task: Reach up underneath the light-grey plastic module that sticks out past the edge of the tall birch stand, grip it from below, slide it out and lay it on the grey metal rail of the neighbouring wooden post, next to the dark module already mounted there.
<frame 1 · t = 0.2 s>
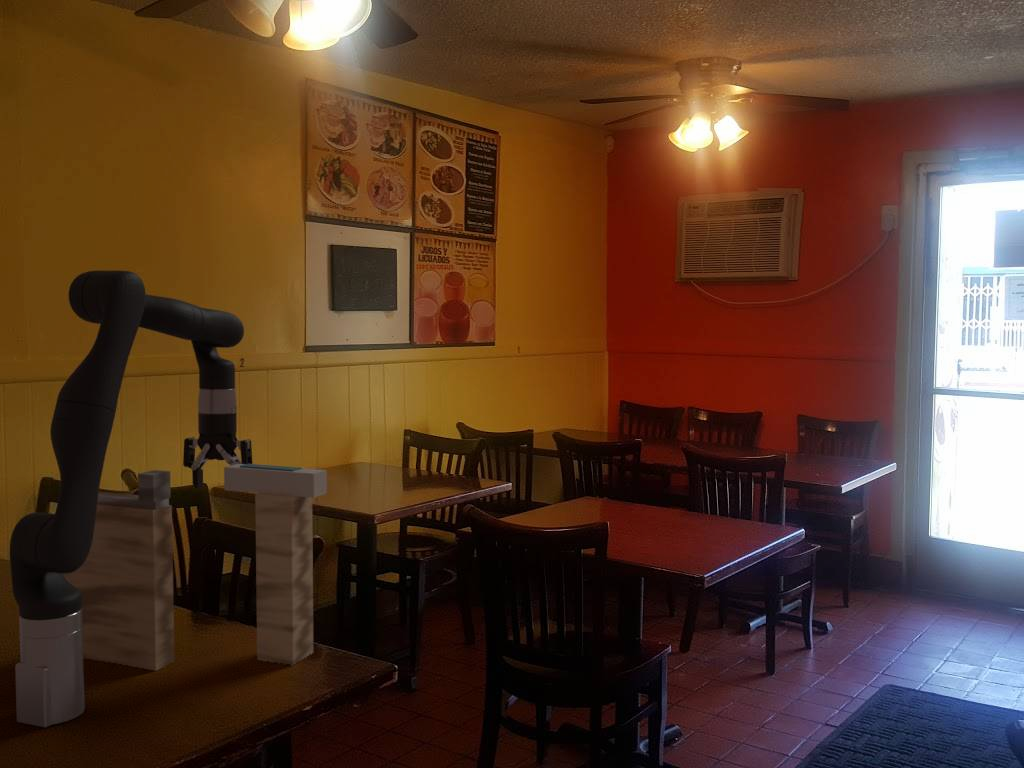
hand: (218, 488, 193), 30 cm above the table, tool pointing down, fingers open, 8 cm apart
module: (275, 491, 180), point 32 cm above the table, touching stand
stand: (285, 656, 181), on the table
rail post: (118, 658, 180), on the table
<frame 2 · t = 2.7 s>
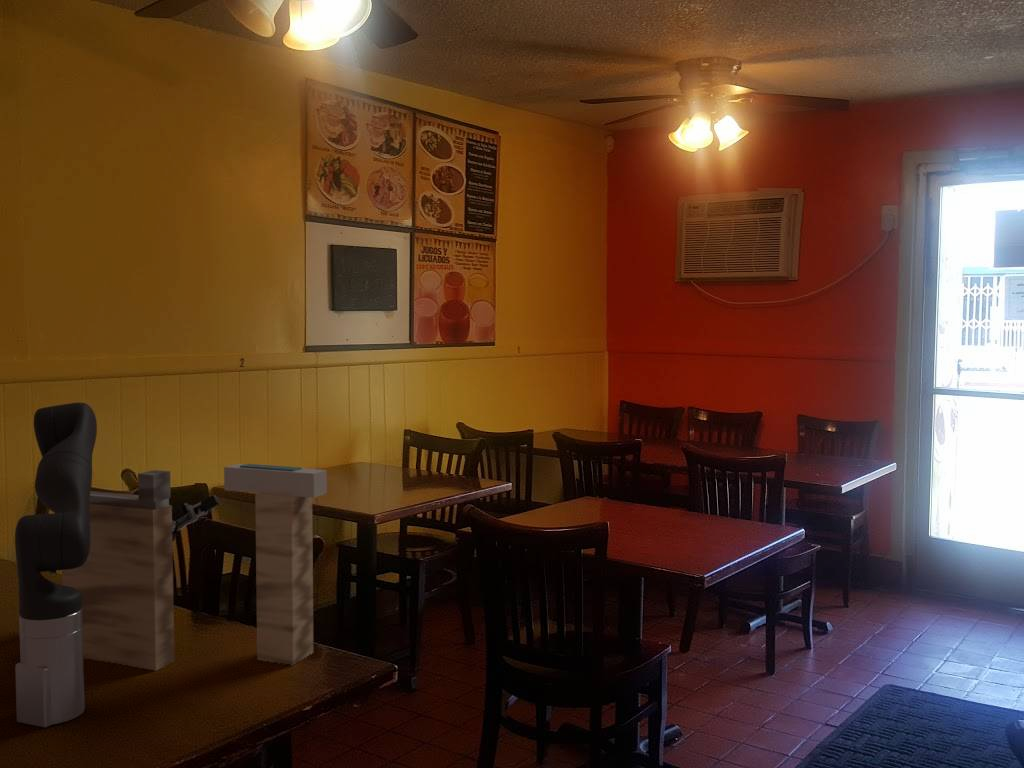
hand: (202, 503, 186), 29 cm above the table, tool pointing upward, fingers open, 8 cm apart
nothing on the table moved.
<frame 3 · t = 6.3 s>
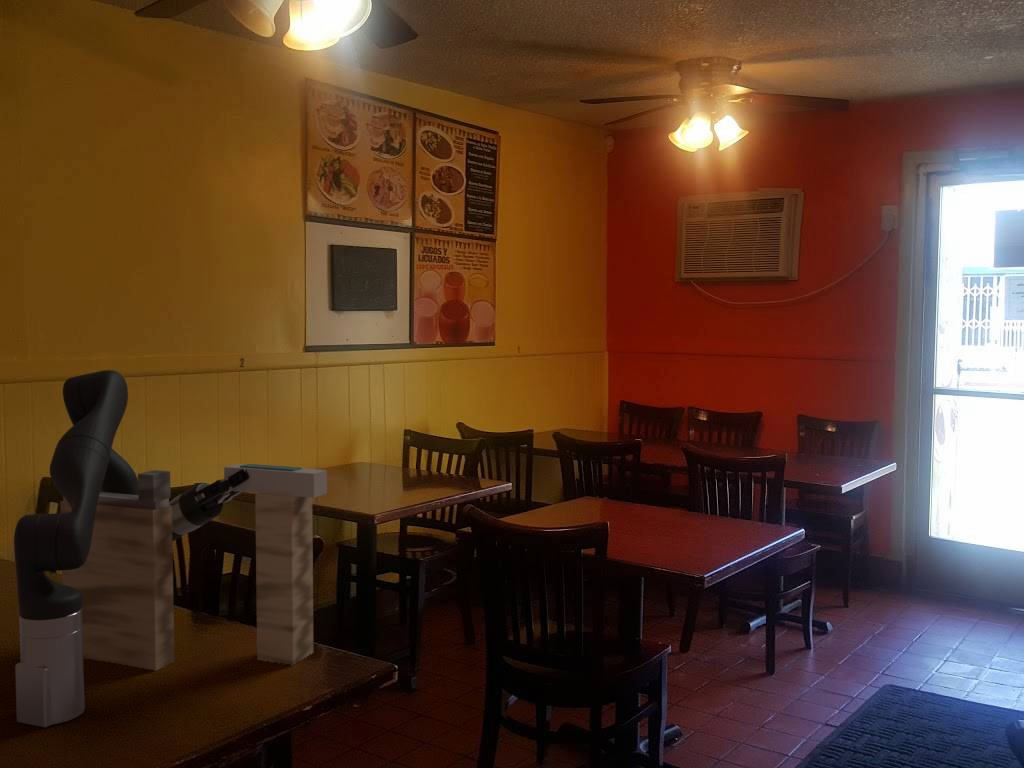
hand: (254, 471, 181), 36 cm above the table, tool pointing upward, fingers closed on module, 4 cm apart
module: (275, 491, 180), point 32 cm above the table, touching gripper, stand
everything else where it was.
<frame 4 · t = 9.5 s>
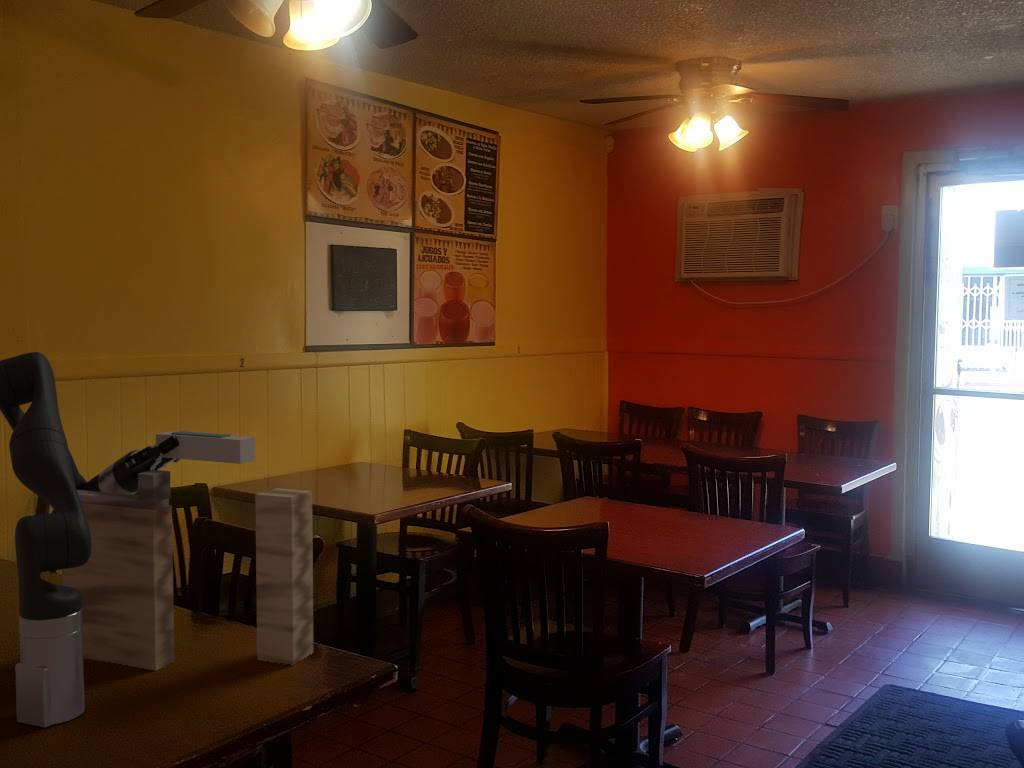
hand: (185, 438, 183), 42 cm above the table, tool pointing upward, fingers closed on module, 4 cm apart
module: (205, 458, 181), point 38 cm above the table, touching gripper
everything else where it was.
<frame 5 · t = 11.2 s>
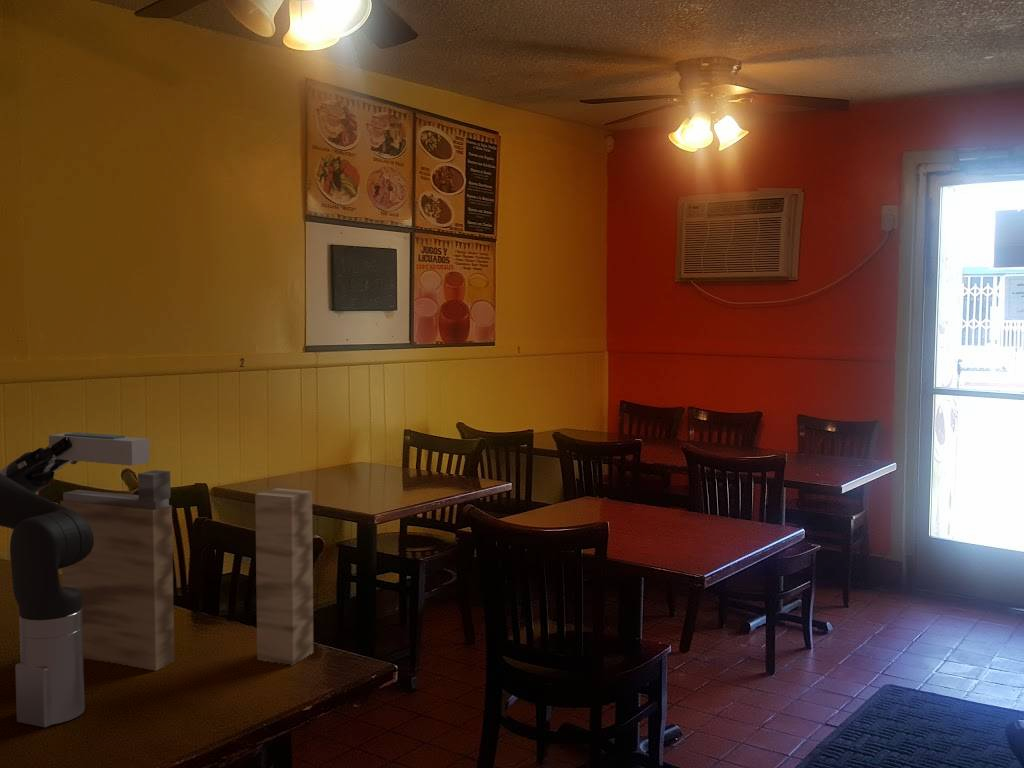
hand: (79, 440, 180), 42 cm above the table, tool pointing upward, fingers closed on module, 4 cm apart
module: (98, 460, 178), point 38 cm above the table, touching gripper
everything else where it was.
when the fingers open (36 cm above the table, at t = 12.9 s): module stays where it is, resting on rail post.
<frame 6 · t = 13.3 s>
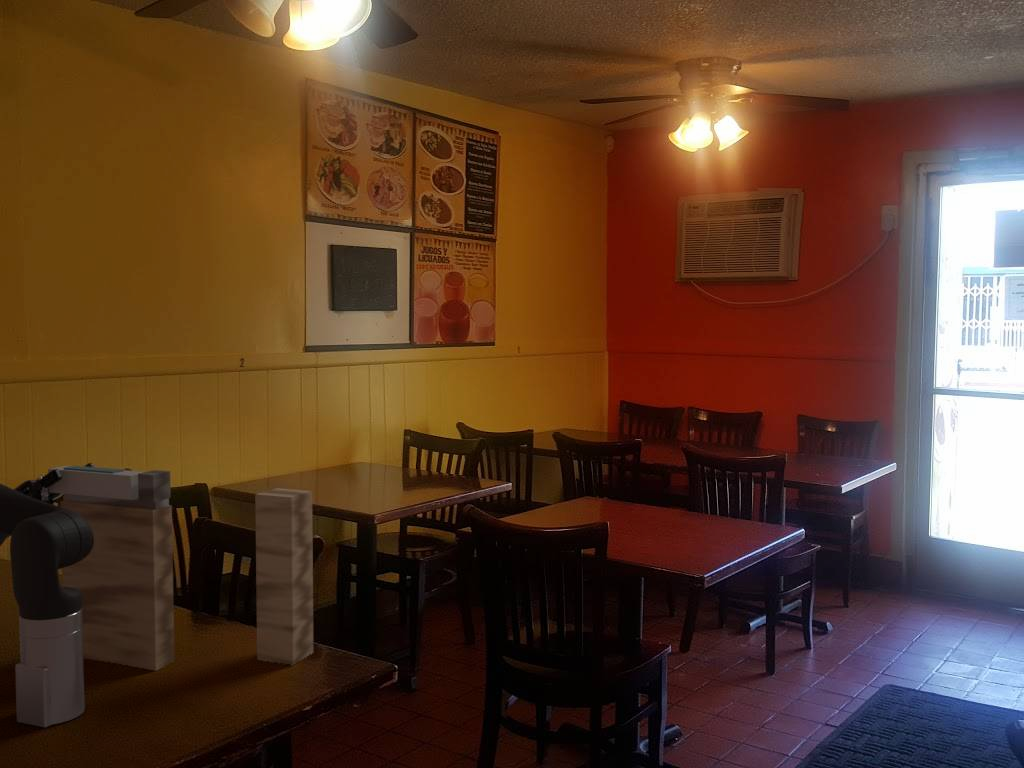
hand: (76, 470, 180), 36 cm above the table, tool pointing upward, fingers open, 8 cm apart
module: (98, 493, 179), point 31 cm above the table, touching rail post
everything else where it was.
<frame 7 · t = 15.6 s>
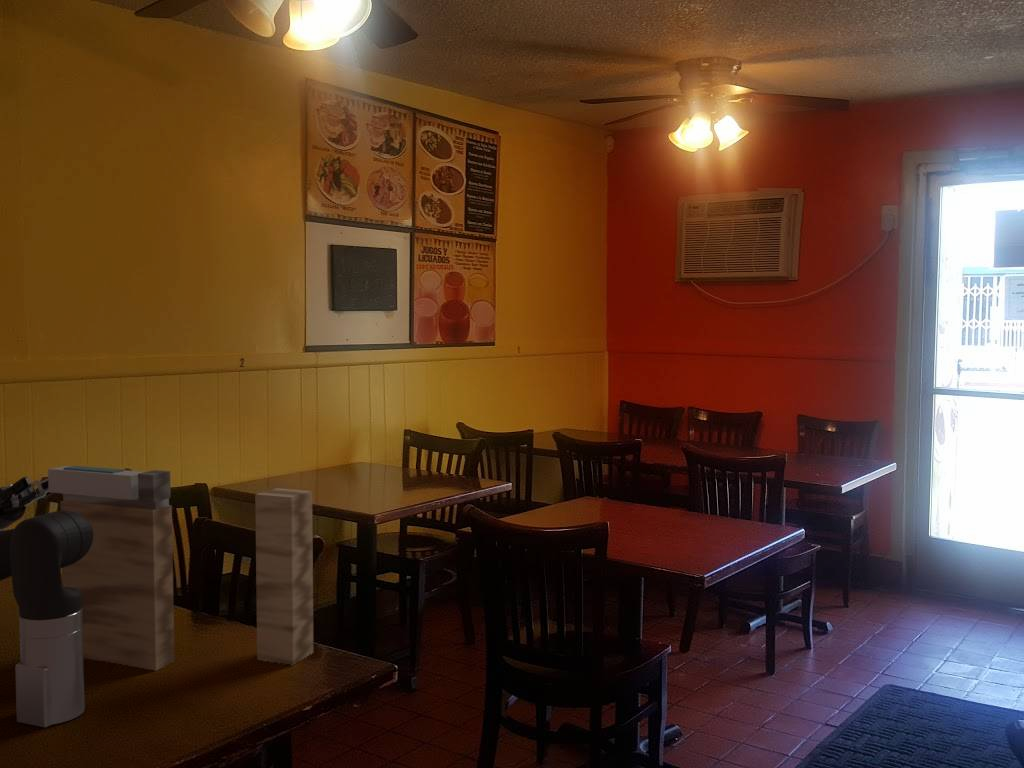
hand: (46, 477, 185), 34 cm above the table, tool pointing upward, fingers open, 8 cm apart
nothing on the table moved.
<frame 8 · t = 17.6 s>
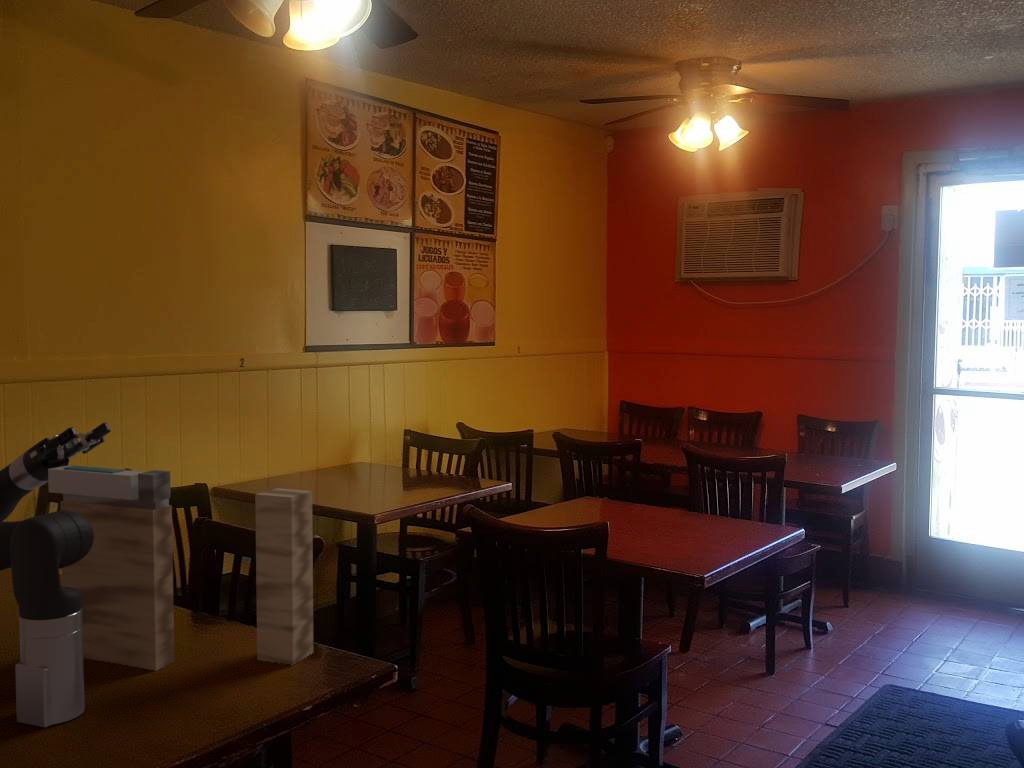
hand: (91, 429, 186), 43 cm above the table, tool pointing upward, fingers open, 8 cm apart
at the end: module inside the target area (0.1 cm from its centre), point 31.5 cm above the table; module tilted 0°; the gripper is holding nothing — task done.
